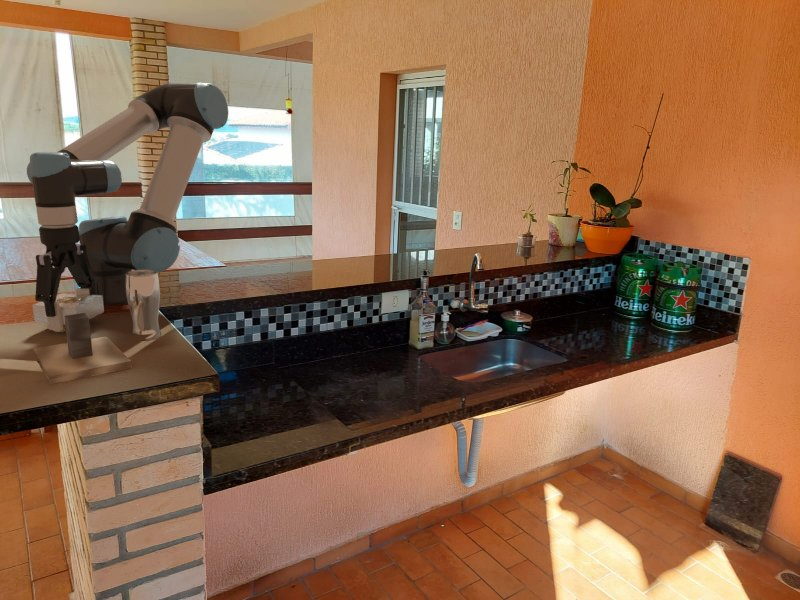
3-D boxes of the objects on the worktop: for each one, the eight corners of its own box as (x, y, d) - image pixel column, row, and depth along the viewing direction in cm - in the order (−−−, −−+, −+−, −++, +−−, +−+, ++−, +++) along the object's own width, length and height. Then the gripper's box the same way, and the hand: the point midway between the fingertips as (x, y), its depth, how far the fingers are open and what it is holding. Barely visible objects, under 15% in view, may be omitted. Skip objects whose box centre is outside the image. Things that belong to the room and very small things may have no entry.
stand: (84, 327, 140) (80, 294, 137) (91, 334, 134) (87, 301, 132) (50, 332, 135) (46, 298, 133) (56, 340, 130) (52, 305, 128)
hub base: (107, 342, 130) (103, 301, 127) (131, 368, 116) (127, 322, 114) (33, 355, 121) (27, 311, 119) (50, 384, 108) (44, 334, 105)
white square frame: (64, 309, 139) (61, 293, 138) (104, 311, 138) (102, 295, 137) (34, 322, 130) (32, 305, 129) (77, 325, 129) (75, 307, 128)
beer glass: (168, 337, 135) (164, 273, 131) (138, 343, 130) (132, 277, 126) (154, 330, 139) (150, 268, 135) (124, 336, 134) (119, 272, 130)
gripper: (74, 217, 139) (86, 307, 146) (3, 232, 118) (20, 337, 124) (104, 218, 139) (114, 308, 145) (39, 234, 117) (54, 339, 123)
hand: (71, 322), depth 134 cm, fingers closed on white square frame, 10 cm apart
